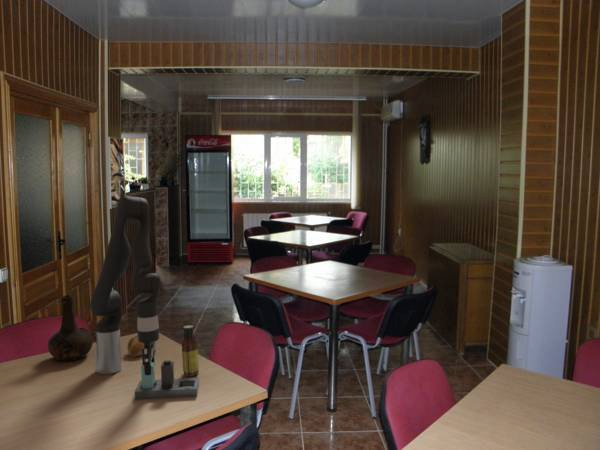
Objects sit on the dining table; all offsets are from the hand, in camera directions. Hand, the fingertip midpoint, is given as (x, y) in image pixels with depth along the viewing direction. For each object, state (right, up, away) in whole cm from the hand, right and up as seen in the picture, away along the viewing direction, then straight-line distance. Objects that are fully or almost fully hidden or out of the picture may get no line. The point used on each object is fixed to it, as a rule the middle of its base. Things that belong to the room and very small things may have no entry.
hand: (149, 370), depth 186 cm
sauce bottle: (+11, -7, +19) cm, 23 cm away
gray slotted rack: (+6, -9, +2) cm, 11 cm away
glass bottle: (-46, -5, +37) cm, 60 cm away
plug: (-1, -9, +1) cm, 9 cm away
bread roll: (-18, -5, +44) cm, 47 cm away
